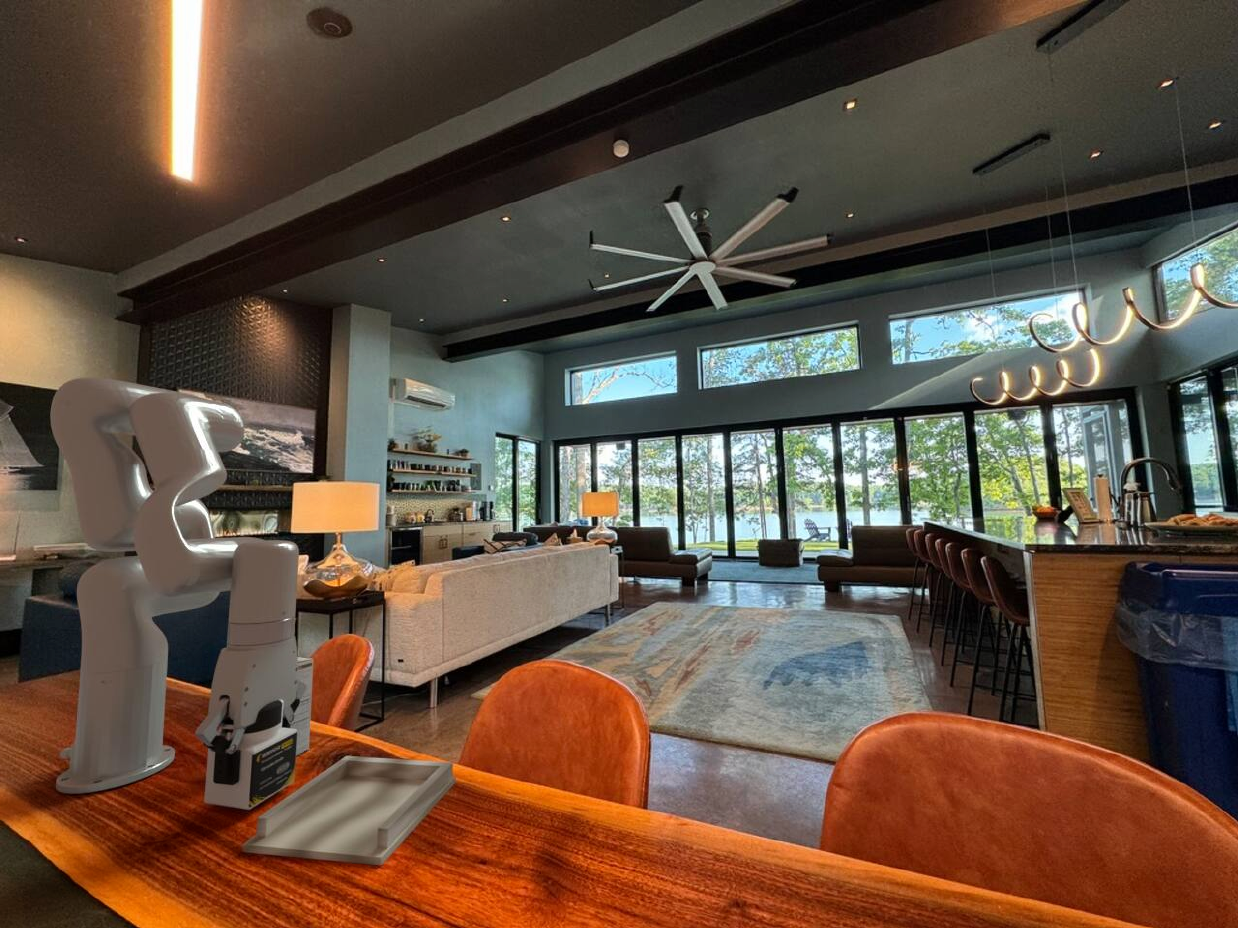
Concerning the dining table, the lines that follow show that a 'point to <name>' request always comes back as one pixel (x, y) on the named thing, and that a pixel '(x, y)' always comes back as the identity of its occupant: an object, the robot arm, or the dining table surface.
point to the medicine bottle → (257, 762)
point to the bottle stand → (353, 810)
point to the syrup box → (303, 706)
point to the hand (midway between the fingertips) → (253, 766)
